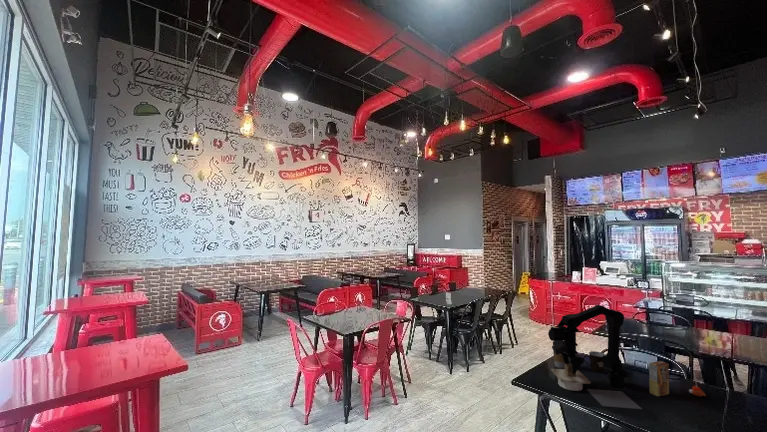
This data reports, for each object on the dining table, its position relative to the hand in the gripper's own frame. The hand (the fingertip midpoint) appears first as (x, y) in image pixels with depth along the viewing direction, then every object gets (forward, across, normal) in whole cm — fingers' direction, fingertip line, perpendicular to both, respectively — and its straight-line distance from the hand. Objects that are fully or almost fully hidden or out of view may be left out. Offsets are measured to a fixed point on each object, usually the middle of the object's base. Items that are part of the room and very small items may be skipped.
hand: (570, 370), depth 176 cm
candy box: (+9, +1, +42) cm, 43 cm away
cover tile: (+4, 0, 0) cm, 4 cm away
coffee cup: (+9, -27, +5) cm, 29 cm away
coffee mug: (+9, -24, +23) cm, 34 cm away
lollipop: (+9, 0, +60) cm, 61 cm away
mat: (+8, +11, +15) cm, 20 cm away
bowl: (+8, 0, 0) cm, 8 cm away
